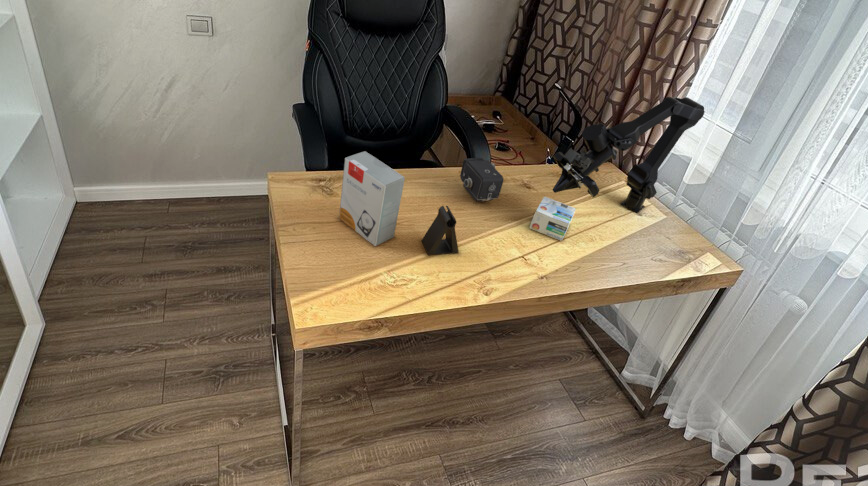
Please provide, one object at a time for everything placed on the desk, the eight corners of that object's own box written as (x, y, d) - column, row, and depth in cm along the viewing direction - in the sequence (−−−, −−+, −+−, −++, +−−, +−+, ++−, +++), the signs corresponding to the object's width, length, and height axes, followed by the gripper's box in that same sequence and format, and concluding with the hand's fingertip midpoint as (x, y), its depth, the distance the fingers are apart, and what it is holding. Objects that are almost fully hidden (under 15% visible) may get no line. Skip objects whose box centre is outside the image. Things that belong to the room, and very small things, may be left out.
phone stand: (427, 255, 137) (435, 219, 130) (421, 241, 141) (428, 205, 135) (458, 253, 140) (468, 218, 133) (451, 239, 144) (460, 205, 137)
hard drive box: (337, 218, 143) (343, 157, 132) (358, 210, 148) (365, 149, 137) (375, 247, 136) (384, 184, 124) (395, 237, 141) (406, 175, 130)
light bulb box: (576, 207, 157) (570, 224, 149) (569, 225, 161) (562, 242, 152) (543, 195, 160) (535, 210, 151) (536, 213, 164) (528, 228, 155)
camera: (499, 207, 164) (478, 179, 174) (511, 180, 157) (488, 151, 167) (471, 211, 160) (450, 181, 170) (481, 182, 153) (460, 153, 162)
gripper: (567, 128, 157) (527, 161, 159) (606, 158, 144) (561, 194, 146) (579, 149, 165) (540, 180, 167) (616, 180, 151) (574, 214, 153)
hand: (553, 191), depth 158 cm, fingers closed
